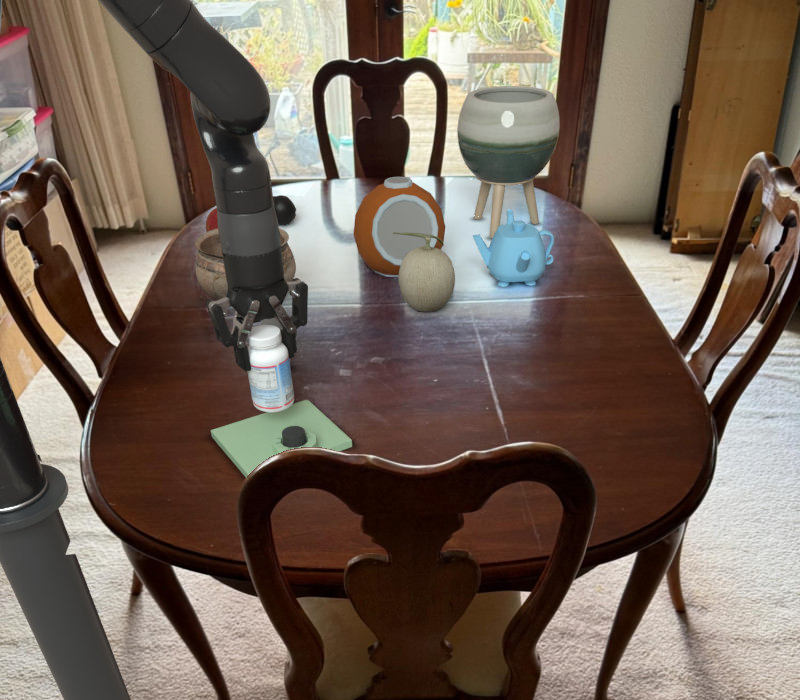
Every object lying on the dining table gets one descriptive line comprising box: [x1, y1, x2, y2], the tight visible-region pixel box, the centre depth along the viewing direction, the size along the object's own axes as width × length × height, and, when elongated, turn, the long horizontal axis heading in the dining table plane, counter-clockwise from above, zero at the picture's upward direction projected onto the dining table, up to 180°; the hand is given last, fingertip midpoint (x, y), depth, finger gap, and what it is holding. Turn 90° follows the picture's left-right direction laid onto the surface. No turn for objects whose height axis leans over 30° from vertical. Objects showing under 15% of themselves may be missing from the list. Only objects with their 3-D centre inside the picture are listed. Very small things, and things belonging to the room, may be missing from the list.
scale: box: [210, 399, 353, 479], centre depth 113 cm, size 16×15×3 cm
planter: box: [456, 85, 561, 239], centre depth 175 cm, size 22×22×28 cm
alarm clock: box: [353, 176, 446, 278], centre depth 161 cm, size 19×18×17 cm
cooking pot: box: [194, 227, 297, 301], centre depth 149 cm, size 25×19×12 cm
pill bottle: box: [246, 324, 295, 413], centre depth 110 cm, size 6×6×11 cm
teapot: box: [472, 208, 555, 288], centre depth 156 cm, size 15×14×11 cm
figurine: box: [273, 195, 297, 227], centre depth 192 cm, size 8×7×18 cm
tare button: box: [282, 426, 306, 448], centre depth 108 cm, size 3×3×2 cm
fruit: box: [393, 232, 456, 313], centre depth 145 cm, size 10×12×15 cm
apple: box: [205, 207, 218, 233], centre depth 176 cm, size 8×8×8 cm
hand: (267, 362), depth 110 cm, fingers closed on pill bottle, 6 cm apart
